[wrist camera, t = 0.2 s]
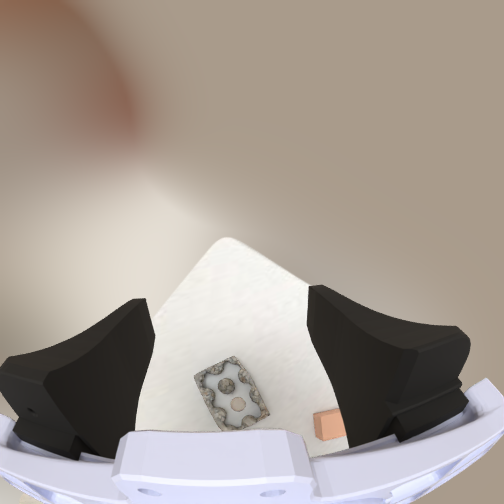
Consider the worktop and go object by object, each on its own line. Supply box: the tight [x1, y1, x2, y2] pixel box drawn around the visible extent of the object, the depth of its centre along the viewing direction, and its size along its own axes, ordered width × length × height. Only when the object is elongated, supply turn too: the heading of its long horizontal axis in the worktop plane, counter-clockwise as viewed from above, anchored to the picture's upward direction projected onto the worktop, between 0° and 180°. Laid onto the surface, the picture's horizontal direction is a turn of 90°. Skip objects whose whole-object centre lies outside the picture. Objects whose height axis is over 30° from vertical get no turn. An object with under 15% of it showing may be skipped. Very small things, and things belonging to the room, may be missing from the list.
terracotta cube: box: [313, 409, 346, 441], centre depth 33 cm, size 4×4×4 cm
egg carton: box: [194, 356, 270, 431], centre depth 35 cm, size 11×8×4 cm
